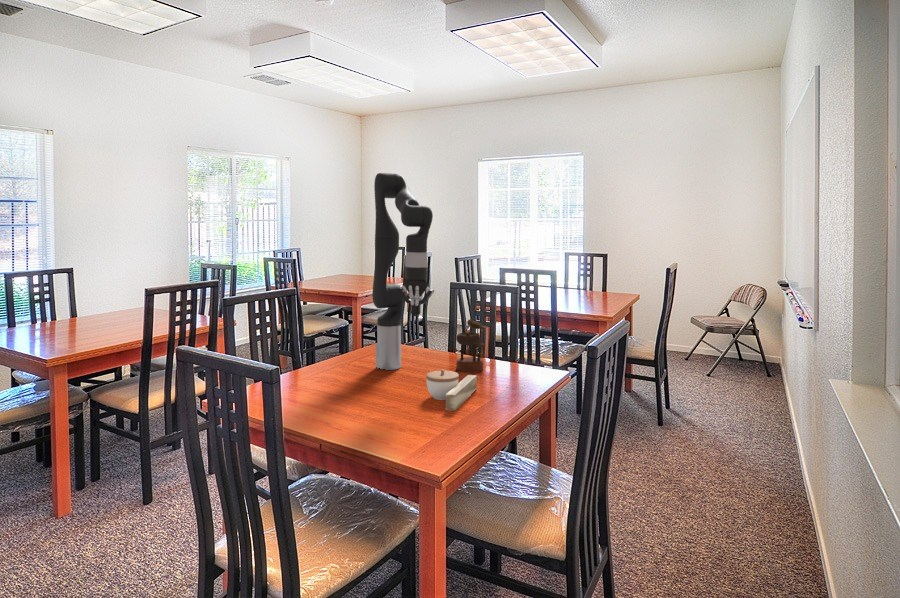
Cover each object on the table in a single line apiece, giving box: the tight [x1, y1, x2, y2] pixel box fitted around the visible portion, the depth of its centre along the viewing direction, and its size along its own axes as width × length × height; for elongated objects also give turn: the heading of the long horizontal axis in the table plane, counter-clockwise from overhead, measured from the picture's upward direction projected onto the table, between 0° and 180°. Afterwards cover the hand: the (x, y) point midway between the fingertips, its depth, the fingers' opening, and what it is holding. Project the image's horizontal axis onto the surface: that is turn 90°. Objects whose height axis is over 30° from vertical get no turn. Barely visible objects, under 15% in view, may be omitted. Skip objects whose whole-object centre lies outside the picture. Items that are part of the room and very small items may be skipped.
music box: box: [448, 319, 488, 373], centre depth 225 cm, size 15×11×20 cm
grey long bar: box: [445, 374, 478, 412], centre depth 188 cm, size 3×24×5 cm, turn 162°
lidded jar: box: [425, 369, 460, 401], centre depth 190 cm, size 11×11×9 cm
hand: (415, 315), depth 197 cm, fingers closed
